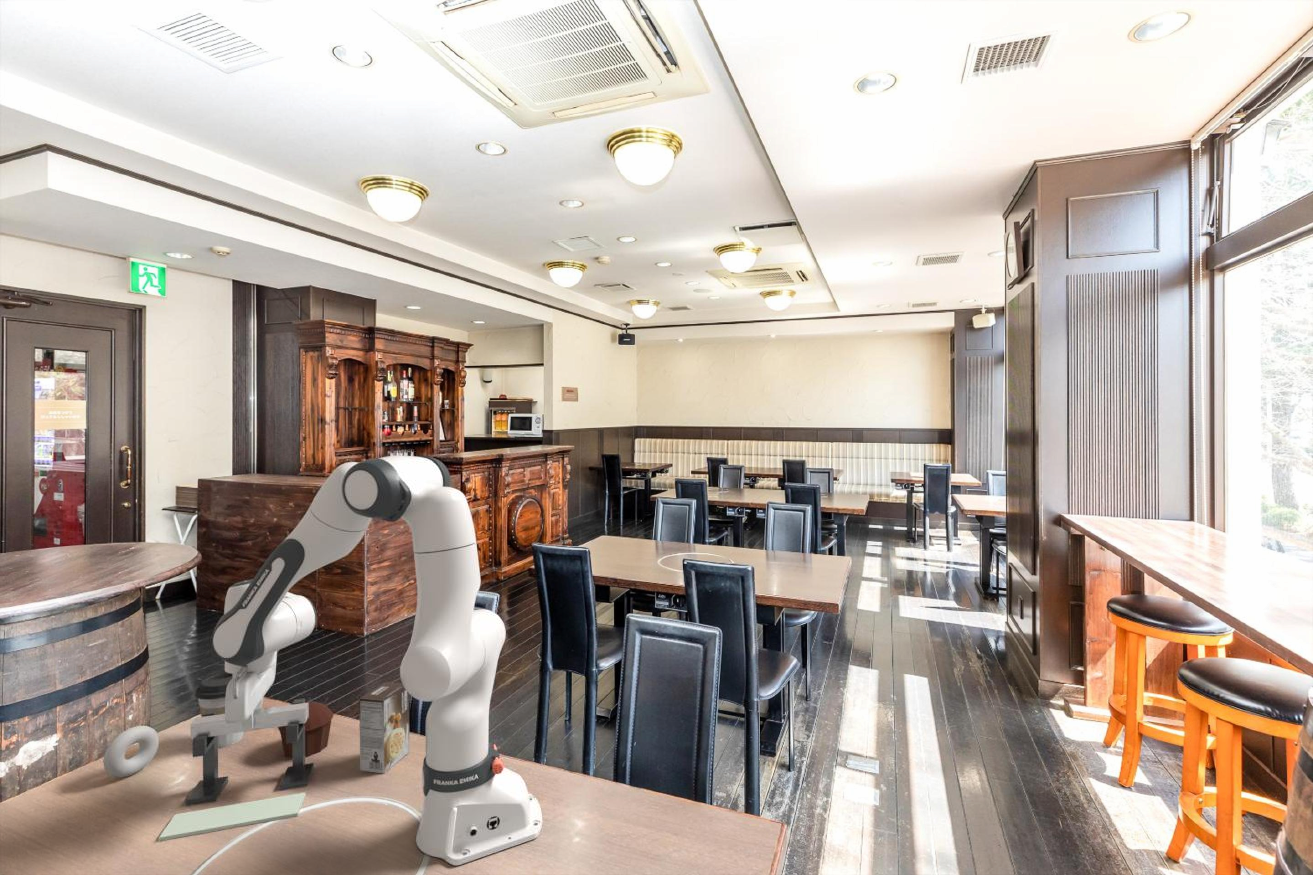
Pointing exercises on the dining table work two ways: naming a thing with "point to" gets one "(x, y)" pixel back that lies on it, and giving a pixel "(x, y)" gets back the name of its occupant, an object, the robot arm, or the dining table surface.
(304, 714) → the rail
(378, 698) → the coffee box
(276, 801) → the mat
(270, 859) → the dining table surface
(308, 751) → the muffin
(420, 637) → the robot arm
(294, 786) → the rack
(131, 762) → the donut
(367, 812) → the dining table surface
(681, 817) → the dining table surface
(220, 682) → the coffee cup
